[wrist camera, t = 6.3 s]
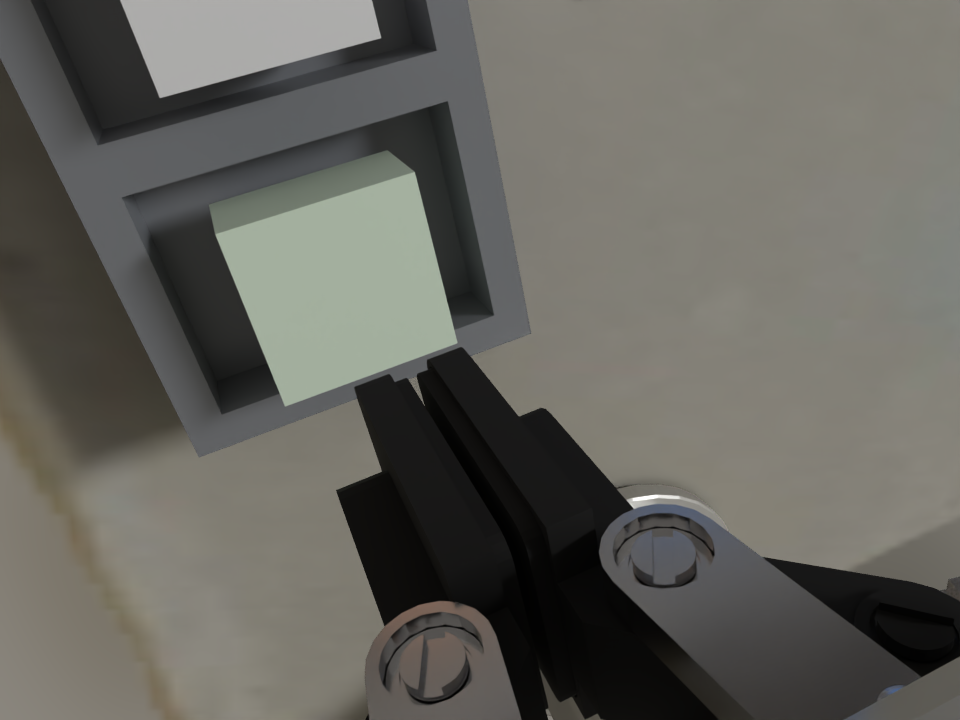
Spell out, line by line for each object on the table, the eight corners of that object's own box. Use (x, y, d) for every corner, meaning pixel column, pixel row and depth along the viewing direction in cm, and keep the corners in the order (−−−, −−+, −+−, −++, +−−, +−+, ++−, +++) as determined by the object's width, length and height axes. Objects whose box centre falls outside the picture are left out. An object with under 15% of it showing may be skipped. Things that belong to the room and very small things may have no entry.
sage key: (429, 307, 22) (457, 343, 20) (272, 362, 21) (285, 406, 19) (387, 150, 20) (414, 172, 17) (208, 204, 19) (215, 234, 17)
